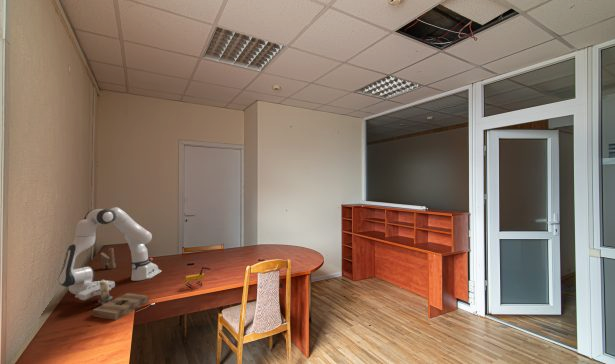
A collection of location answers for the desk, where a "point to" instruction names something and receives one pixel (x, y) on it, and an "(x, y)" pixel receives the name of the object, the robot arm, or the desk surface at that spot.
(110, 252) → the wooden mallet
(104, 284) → the beech peg
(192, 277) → the robot dog
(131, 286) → the desk surface
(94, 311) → the peg hole board
